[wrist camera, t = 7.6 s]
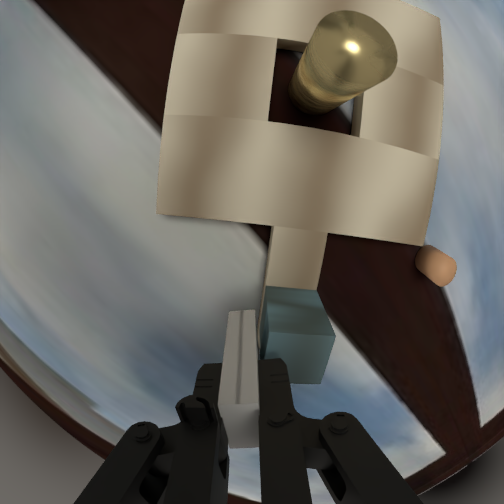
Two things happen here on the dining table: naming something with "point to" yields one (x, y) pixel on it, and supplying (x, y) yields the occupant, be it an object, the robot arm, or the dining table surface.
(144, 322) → the dining table surface
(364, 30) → the post
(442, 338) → the dining table surface
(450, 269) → the dowel
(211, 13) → the light wooden flat board
